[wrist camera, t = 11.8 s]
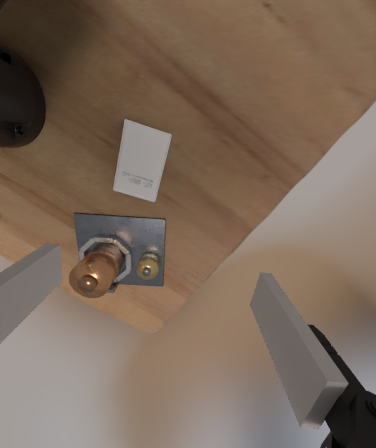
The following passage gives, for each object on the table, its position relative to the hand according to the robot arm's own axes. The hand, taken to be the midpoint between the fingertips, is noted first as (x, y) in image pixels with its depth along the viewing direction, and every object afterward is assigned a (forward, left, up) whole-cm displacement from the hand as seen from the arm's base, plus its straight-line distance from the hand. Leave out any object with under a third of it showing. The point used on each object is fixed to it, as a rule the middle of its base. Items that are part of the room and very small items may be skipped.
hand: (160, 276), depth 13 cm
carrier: (-11, -13, -26) cm, 31 cm away
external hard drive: (-7, +6, -27) cm, 28 cm away
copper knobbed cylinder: (-14, -14, -26) cm, 33 cm away
